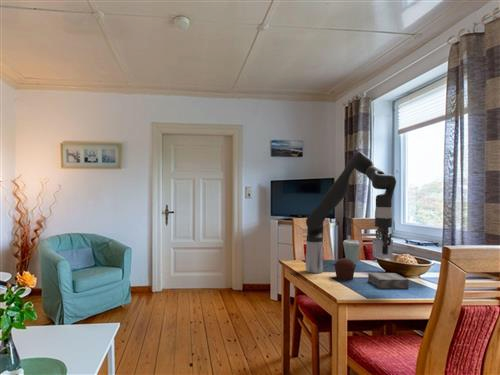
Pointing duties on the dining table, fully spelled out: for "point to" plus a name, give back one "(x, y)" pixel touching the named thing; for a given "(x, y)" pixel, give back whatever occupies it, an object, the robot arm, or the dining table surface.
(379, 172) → the robot arm
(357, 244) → the disposable coffee cup
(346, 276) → the muffin
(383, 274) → the plinth
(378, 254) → the medicine box
